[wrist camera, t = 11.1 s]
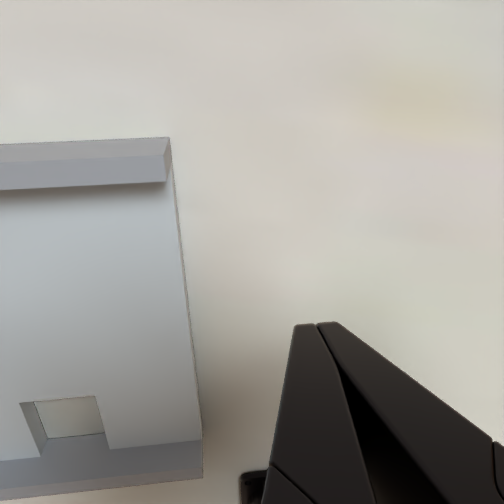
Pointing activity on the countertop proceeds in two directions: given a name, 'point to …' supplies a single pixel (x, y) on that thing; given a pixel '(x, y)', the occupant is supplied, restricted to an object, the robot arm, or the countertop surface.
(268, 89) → the countertop surface
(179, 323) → the board
